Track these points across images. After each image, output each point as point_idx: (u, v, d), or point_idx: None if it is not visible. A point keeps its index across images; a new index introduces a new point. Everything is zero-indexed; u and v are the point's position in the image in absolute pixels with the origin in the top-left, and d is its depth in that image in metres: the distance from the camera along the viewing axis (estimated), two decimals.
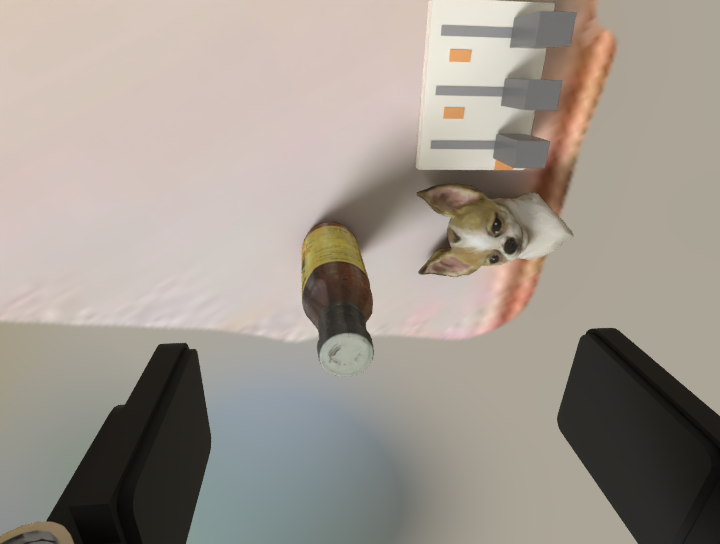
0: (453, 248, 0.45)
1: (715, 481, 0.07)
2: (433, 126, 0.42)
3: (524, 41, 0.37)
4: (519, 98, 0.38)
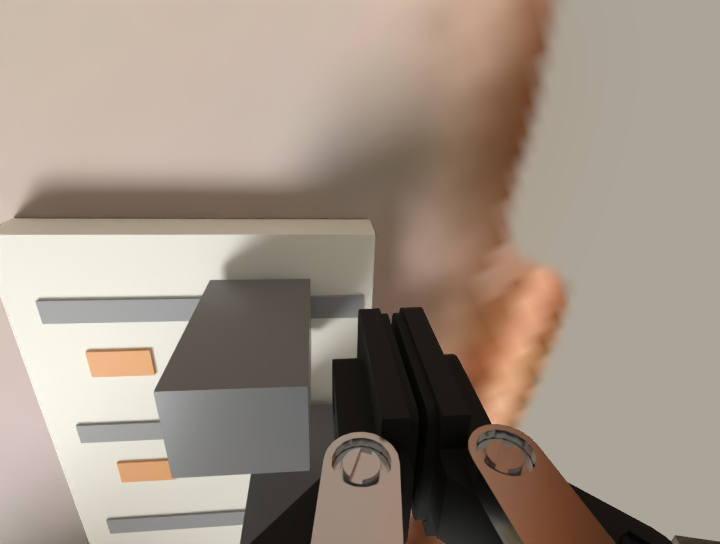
0: None
1: (438, 439, 0.08)
2: (102, 495, 0.17)
3: None
4: None
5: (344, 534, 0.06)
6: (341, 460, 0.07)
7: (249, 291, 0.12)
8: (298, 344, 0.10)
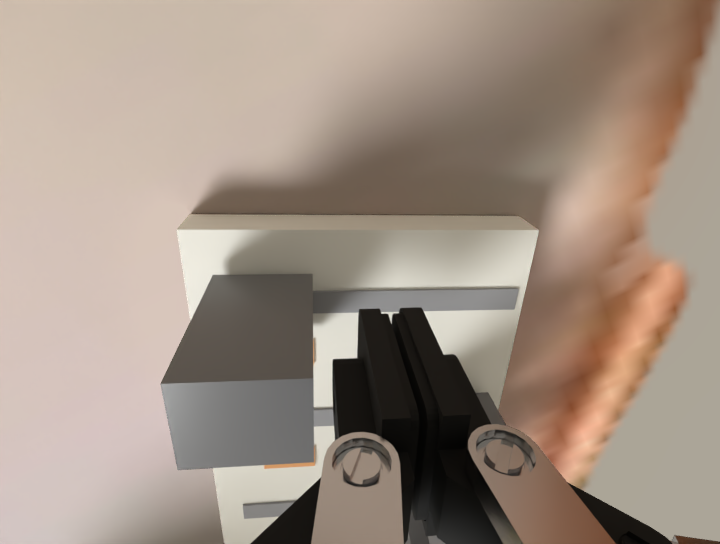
0: None
1: (438, 439, 0.08)
2: (243, 481, 0.17)
3: None
4: None
5: (345, 535, 0.06)
6: (341, 460, 0.07)
7: (252, 285, 0.12)
8: (302, 337, 0.10)
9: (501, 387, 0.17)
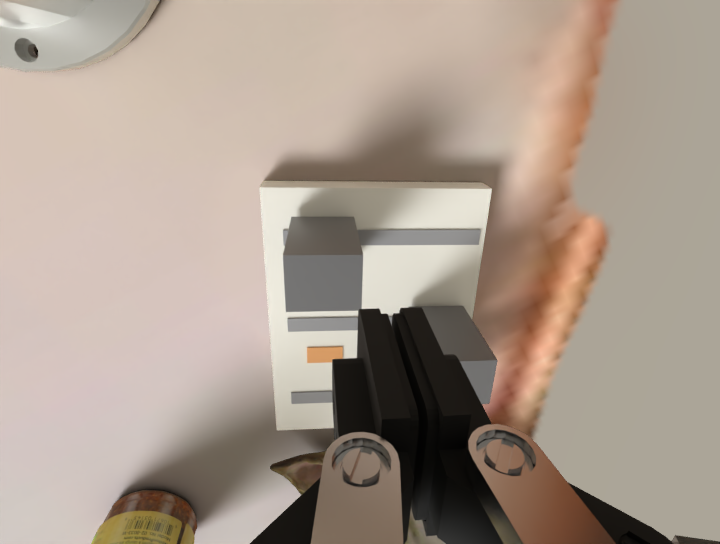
0: None
1: (438, 439, 0.08)
2: (292, 373, 0.25)
3: None
4: None
5: (344, 535, 0.06)
6: (341, 460, 0.07)
7: (318, 221, 0.20)
8: (354, 241, 0.17)
9: (473, 304, 0.24)
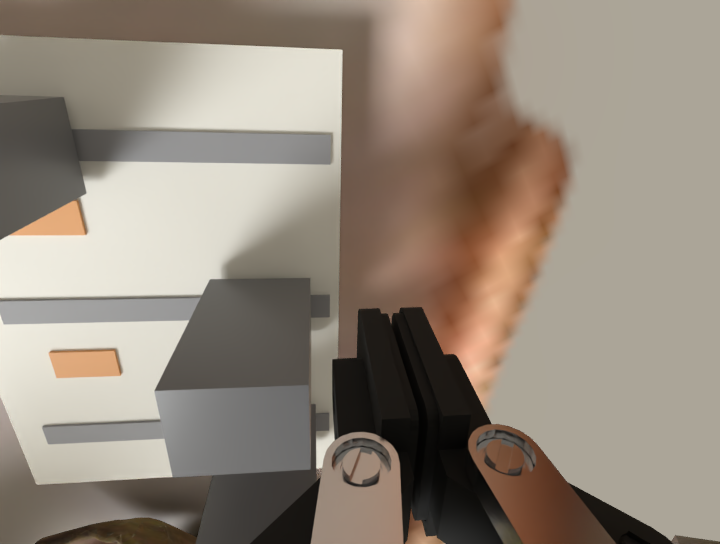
0: None
1: (438, 439, 0.08)
2: (35, 395, 0.14)
3: None
4: None
5: (345, 534, 0.06)
6: (341, 460, 0.07)
7: None
8: None
9: (336, 276, 0.14)
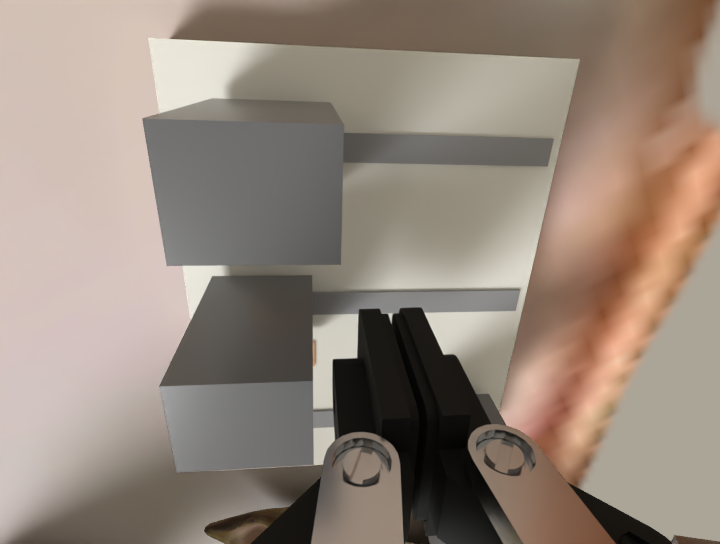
0: None
1: (438, 439, 0.08)
2: None
3: None
4: None
5: (344, 534, 0.06)
6: (341, 460, 0.07)
7: (260, 102, 0.10)
8: (325, 114, 0.08)
9: (529, 272, 0.14)
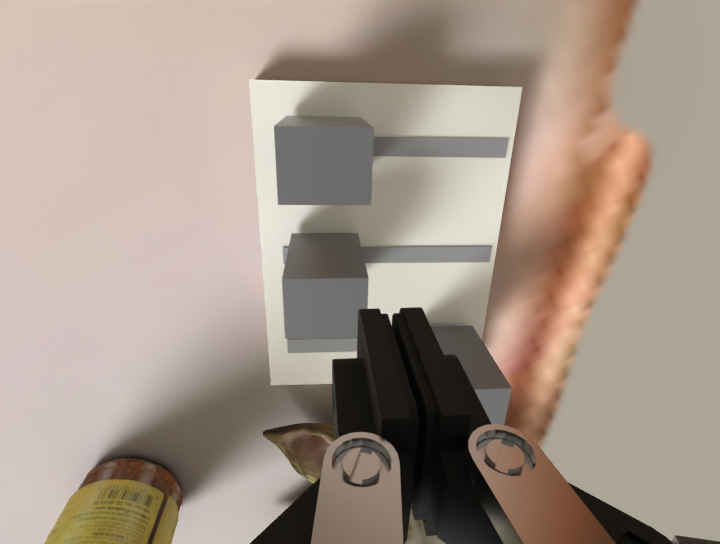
0: None
1: (438, 439, 0.08)
2: None
3: None
4: None
5: (344, 534, 0.06)
6: (341, 460, 0.07)
7: (318, 117, 0.17)
8: (361, 123, 0.14)
9: (497, 233, 0.21)
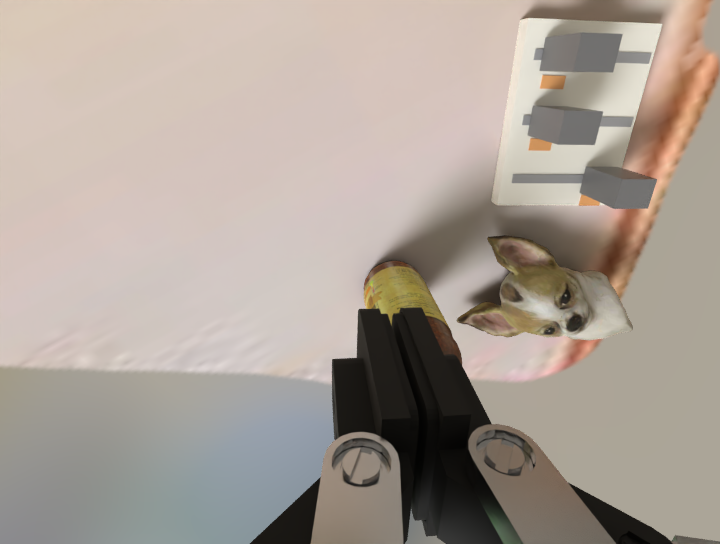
0: (508, 306, 0.41)
1: (438, 439, 0.08)
2: (517, 158, 0.38)
3: (559, 65, 0.32)
4: (552, 130, 0.33)
5: (345, 534, 0.06)
6: (341, 460, 0.07)
7: None
8: None
9: (637, 109, 0.37)
